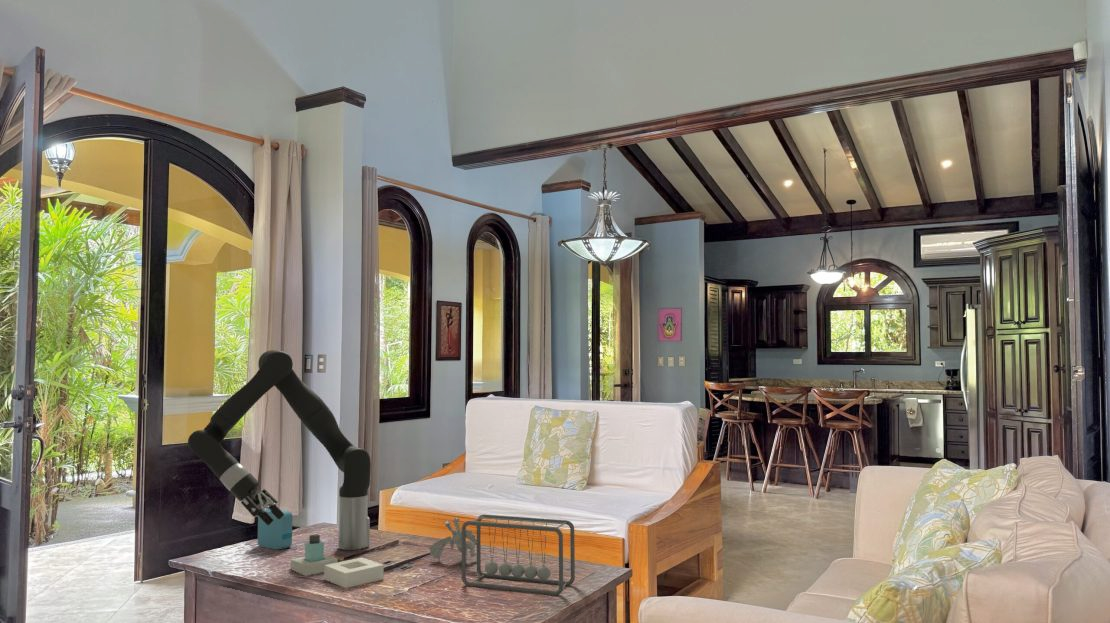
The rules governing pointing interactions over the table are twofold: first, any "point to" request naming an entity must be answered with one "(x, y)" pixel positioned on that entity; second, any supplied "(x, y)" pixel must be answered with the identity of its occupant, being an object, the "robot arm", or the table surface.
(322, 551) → the plug
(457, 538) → the fairy figurine
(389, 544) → the table surface
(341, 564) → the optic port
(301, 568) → the holster
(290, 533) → the data package
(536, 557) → the table surface
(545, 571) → the newton's cradle
